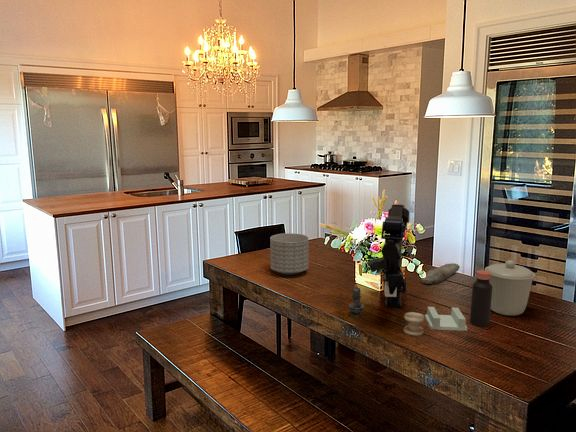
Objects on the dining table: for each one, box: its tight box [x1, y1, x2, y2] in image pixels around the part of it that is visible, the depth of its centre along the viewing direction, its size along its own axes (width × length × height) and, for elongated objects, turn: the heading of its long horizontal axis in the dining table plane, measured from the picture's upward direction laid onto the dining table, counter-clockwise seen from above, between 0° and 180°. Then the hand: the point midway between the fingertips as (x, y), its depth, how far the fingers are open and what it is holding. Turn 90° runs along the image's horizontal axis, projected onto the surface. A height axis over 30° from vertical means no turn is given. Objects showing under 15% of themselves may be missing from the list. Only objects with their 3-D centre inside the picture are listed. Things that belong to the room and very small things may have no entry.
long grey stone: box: [420, 262, 461, 285], centre depth 234 cm, size 35×5×10 cm
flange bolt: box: [348, 285, 365, 318], centre depth 186 cm, size 6×6×12 cm
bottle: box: [469, 269, 492, 327], centre depth 177 cm, size 7×7×20 cm
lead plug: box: [383, 282, 397, 298], centre depth 179 cm, size 4×4×6 cm
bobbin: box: [403, 311, 425, 337], centre depth 171 cm, size 7×7×6 cm
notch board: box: [424, 306, 468, 332], centre depth 178 cm, size 11×13×4 cm
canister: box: [484, 259, 536, 317], centre depth 189 cm, size 18×18×21 cm
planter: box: [269, 232, 309, 276], centre depth 237 cm, size 19×19×18 cm
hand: (390, 292), depth 179 cm, fingers closed on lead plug, 4 cm apart
